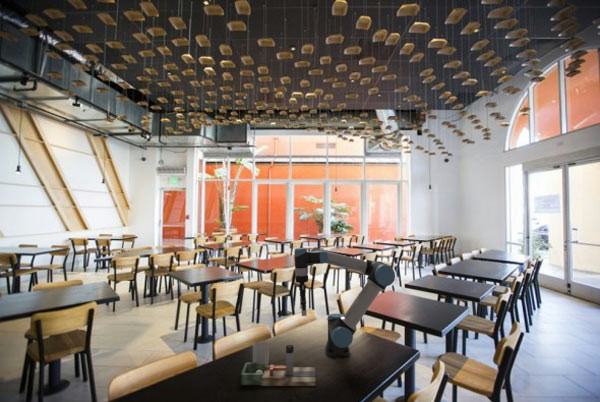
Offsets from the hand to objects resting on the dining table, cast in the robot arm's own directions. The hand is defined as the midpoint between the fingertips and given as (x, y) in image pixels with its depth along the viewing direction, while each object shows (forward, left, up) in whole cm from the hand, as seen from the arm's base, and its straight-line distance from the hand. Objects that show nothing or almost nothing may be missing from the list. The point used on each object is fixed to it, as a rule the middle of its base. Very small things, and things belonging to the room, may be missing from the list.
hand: (303, 312), depth 168 cm
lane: (+13, +15, -29) cm, 35 cm away
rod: (+11, +15, -27) cm, 33 cm away
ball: (+23, +15, -27) cm, 39 cm away
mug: (+25, -1, -29) cm, 39 cm away
